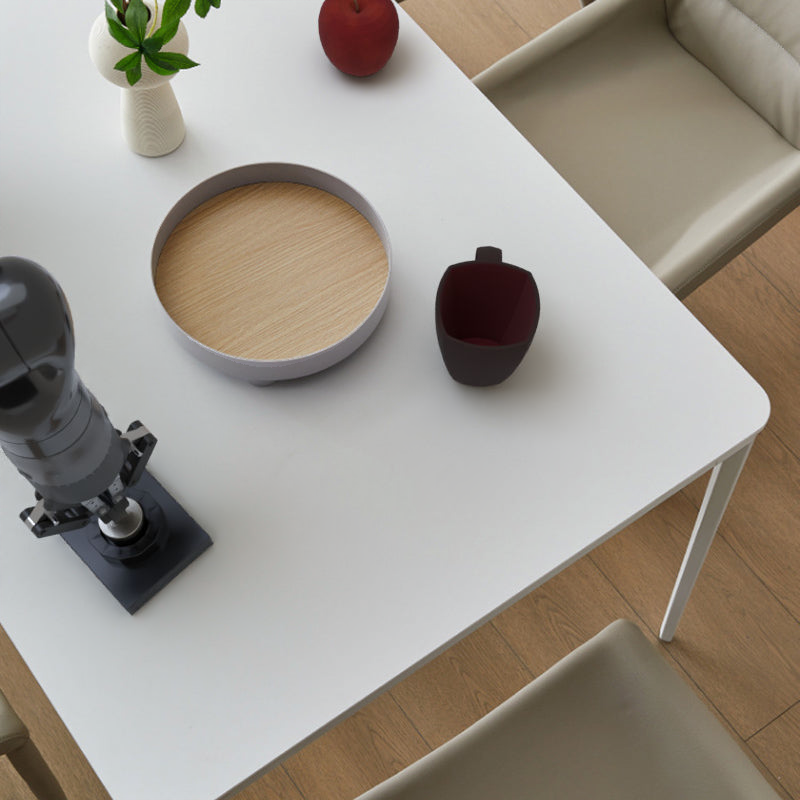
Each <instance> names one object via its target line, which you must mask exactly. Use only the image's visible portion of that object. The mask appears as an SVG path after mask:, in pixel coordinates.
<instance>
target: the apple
mask: <svg viewBox="0 0 800 800" xmlns="http://www.w3.org/2000/svg"><path fill="white" fill-rule="evenodd" d="M317 29H318V35H319V37H318V38H319V41H320V45H321V48H322V50H323V53H324V54H325V56H326V58H327V59H328V61H329V62H330V64H332V65H333V67H335V68H336V69H337V70H339V71H340V72H342V73H345V74H347V75H350V76H355V77H366V76H370V75H373V74H376V73H377V72H379V71H380V70H382V69H383V68H384V67H385V66H386V65H387V64H388V62H389V61H390V59H391V57H392V56H393V53H394V51H395V48H396V46H397V43H398V39H399V34H400V18H399V13H398V11H397V7H396V6H395V3H394V2H393V0H324V1H323V2H322V4H321V7H320V10H319V13H318V19H317Z"/></svg>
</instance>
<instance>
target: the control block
mask: <svg viewBox="0 0 800 800" xmlns="http://www.w3.org/2000/svg"><path fill="white" fill-rule="evenodd" d="M126 464H127V465H128V466H129V467H130V468H131V464H130V463H129V462H128V461H127V463H126ZM124 494H125V497H128V498H131V499H133V500H135V501H136V502H137V503H138V504H139V506H140V507H141V509H142V510H143V512H144V513H145V515H146V519H147V525H146V529H145V531H144V533H143V534H142V536H141V537H140V538H139V539H137V540H136V541H134V542H132V543H130V544H125V545H120V544H116V543H113V542H112V541H110V540H109V539H108V538H107V537H106V535H105V534H104V533H103V532H102V530H101V529H100V527H99V523H98V516H97V515H93V516H91V517H90V518H91V521H90V523H89V524H88V525H87V526H85V527H84V528H81V529H77V530H73V531H69V532H64V533H60V534H58V536H59V537H61V538H62V539H63V540H64V541H65V543H66V545H68V546H69V547H70V548H71V550H72V551H73V552H74V553H75V554H76V555H77V556H78V558H79V559H80V560H81V561H82V562H83V563H84V564H85V566H87V568H88V569H89V570H90V572H92V573H93V575H94V576H95V577H96V578H97V579H98V580H99V581H100V582H101V584H102V585H103V586H104V587H105V588H106V589H107V591H108V592H110V594H111V595H112V596H113V597H114V599H115V600H116V601H117V602H118V603H119V604H120V606H122V608H124V610H125V611H126V612H127V613H128V614H129V615H130V616H133V615H134V614H135V613H137V612H138V611H139V610H140V609H141V608H142V607H144V605H146V604H147V603H148V602H149V601H150V600H151V599H153V597H155V596H157V594H158V593H160V592H161V591H162V590H163V589H164V588H165V587H166V586H168V585H169V583H171V581H173V580H174V579H175V578H176V577H178V575H180V574H182V572H183V571H184V570H186V568H188V567H189V565H191V564H192V563H193V562H194V561H196V560H197V559H198V558H199V557H200V556H201V555H203V553H205V552H206V551H207V550H208V549H210V547H211V546H212V545H213V544H214V541H213V539H212V538H211V536H210V535H209V534H208V533H207V532H206V531H205V529H204V528H203V527H202V526H201V525H200V524H199V523H198V522H197V521H196V520H195V519H194V517H192V516H191V515H190V514H189V512H188V511H187V510H186V509H185V508H184V507H183V506H182V505H181V504H180V503H179V502H178V501H177V500H176V499H175V498H174V497H173V495H171V493H169V491H168V490H167V489H166V488H165V487H164V486H163V485H162V484H161V483H160V482H159V481H158V480H157V478H155V476H154V475H153V474H152V473H151V472H150V471H149V469H147V468H146V467H145V469H144V471H143V473H142V476H141V478H140V480H139V482H138V483H137V484H136V485H135V486H133V487H131V488H129V487H128V486H127V487H126V488H125V490H124ZM65 514H66V515H67V516H68V517H70V516H69V515H68V514H67V513H65ZM70 518H71V517H70Z"/></svg>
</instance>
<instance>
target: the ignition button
mask: <svg viewBox="0 0 800 800" xmlns="http://www.w3.org/2000/svg"><path fill="white" fill-rule="evenodd" d="M126 498H127V500H128V501H129V507H128V508H126V509H125V510H126V512H127V513H128V514H127V515H126V516H125V517H123V518H121V517H120V516H119V517H120V518H121V520H120V521H119V522H117V523H116V524H114V522H113V521H111V522H110V523H108V524H104V523H103V522H102V521H101V520H100V519H99V517H98V523H99V527H100V529H101V530H102V532H103V533H104V534H105V535H106V537H107V538H108V539H109V540H110V541H112V542H113V543H116V544H120V545H125V544H130V543H132V542H134V541H136V540H137V539H139V538H140V537H141V536H142V534H143V533H144V531H145V529H146V525H147V519H146V515H145V513H144V512H143V510H142V509H141V507H140V506H139V504H138V503H137V502H136V501H135V500H133V499H131V498H128V497H126Z"/></svg>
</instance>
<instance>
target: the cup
mask: <svg viewBox="0 0 800 800" xmlns="http://www.w3.org/2000/svg"><path fill="white" fill-rule="evenodd" d="M538 288H539V287H538V284H537V282H536V279H535V277H534V275H533V273H532V271H530V270H527V269H525V268H523V267H520V266H519V265H516V264H512V263H508V262H504V261H503V250H502V249H501V248H499V247H496V246H493V245H492V246H491V245H484V246H478V247H476V250H475V256H474V259H473V260H464V261H460V262H457V263H453V264H451V265H448V266H447V268H446V269H445V271H444V272H443V274H442V276H441V278H440V280H439V283H438V286H437V289H436V294H435V302H434V322H435V334H436V338H437V343H438V348H439V350H440V354H441V357H442V361H443V363H444V366H445V368H446V370H447V372H448V374H449V375H450V377H451V379H453V380H454V381H455V382H457V383H459V384H461V385H466V386H469V387H477V388H486V387H492V386H496V385H501V383H503V382H505V381H506V380H507V379H509V377H511V375H512V374H514V372H515V371H516V370H517V368H518V367H519V366H520V364H521V363H522V361H524V358H525V357H526V355H527V353H528V351H529V349H530V347H531V345H532V343H533V341H534V338H535V335H536V333H537V329H538V326H539V322H540V316H541V297H540V291H539V289H538Z"/></svg>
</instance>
